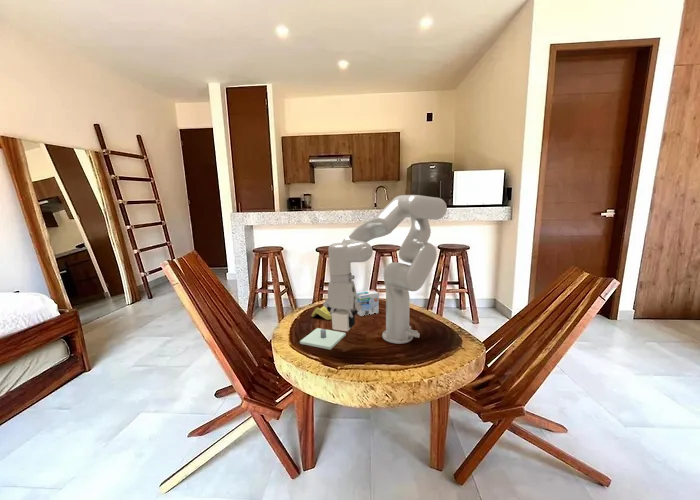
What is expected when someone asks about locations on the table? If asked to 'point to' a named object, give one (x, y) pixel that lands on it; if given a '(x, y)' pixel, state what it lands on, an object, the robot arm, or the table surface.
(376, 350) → the table surface
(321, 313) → the plastic component
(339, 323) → the off-white plain cube
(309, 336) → the stub plate
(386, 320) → the robot arm
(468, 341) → the table surface
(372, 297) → the light bulb box
